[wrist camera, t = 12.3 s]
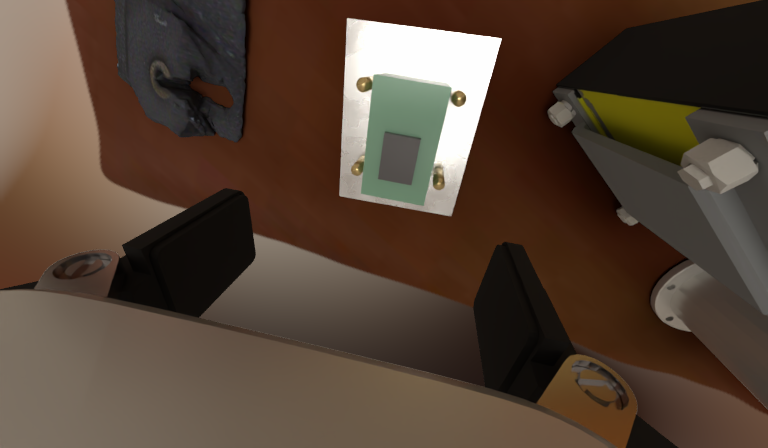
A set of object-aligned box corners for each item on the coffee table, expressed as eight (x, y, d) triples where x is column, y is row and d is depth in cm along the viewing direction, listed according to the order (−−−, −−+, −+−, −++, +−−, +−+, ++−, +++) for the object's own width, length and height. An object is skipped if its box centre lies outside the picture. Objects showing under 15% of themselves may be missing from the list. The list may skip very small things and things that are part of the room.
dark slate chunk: (284, -73, 24) (253, -102, 20) (243, 151, 35) (218, 162, 31) (112, -172, 23) (41, -225, 19) (126, 93, 34) (83, 97, 30)
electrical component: (534, 101, 27) (710, 159, 10) (651, 7, 23) (1353, -188, 5) (619, 222, 32) (842, 406, 14) (731, 164, 27) (1253, 330, 10)
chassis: (499, 39, 25) (511, 34, 21) (450, 212, 34) (453, 230, 30) (349, 19, 26) (335, 11, 22) (341, 192, 35) (330, 208, 31)
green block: (447, 83, 26) (452, 87, 20) (425, 179, 32) (423, 208, 25) (386, 72, 27) (372, 74, 20) (374, 170, 32) (359, 196, 25)
